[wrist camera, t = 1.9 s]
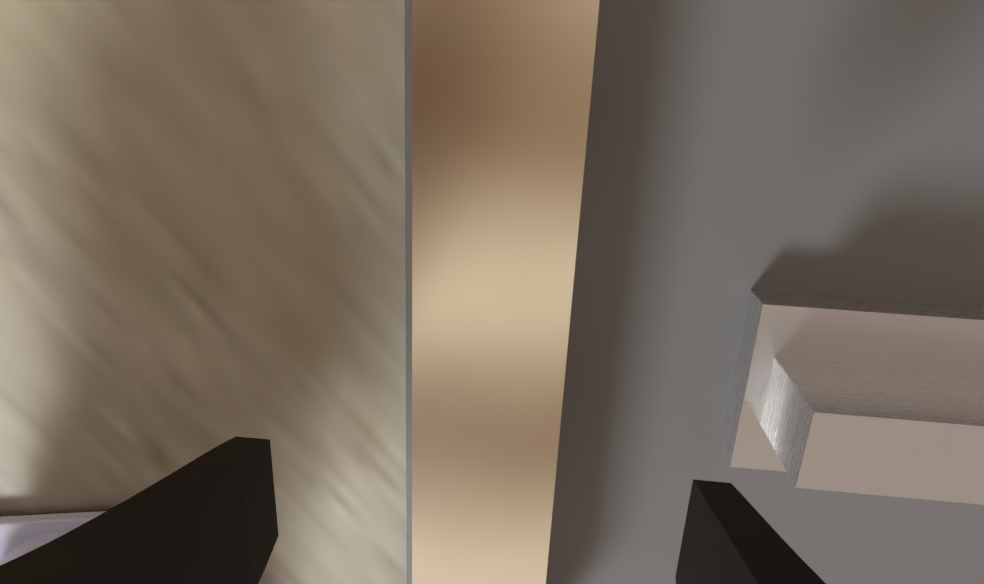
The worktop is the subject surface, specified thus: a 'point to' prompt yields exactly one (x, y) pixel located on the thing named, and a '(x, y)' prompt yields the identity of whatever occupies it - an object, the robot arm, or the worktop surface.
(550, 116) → the maple batten
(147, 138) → the worktop surface
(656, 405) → the charcoal board
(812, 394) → the steel ridge
